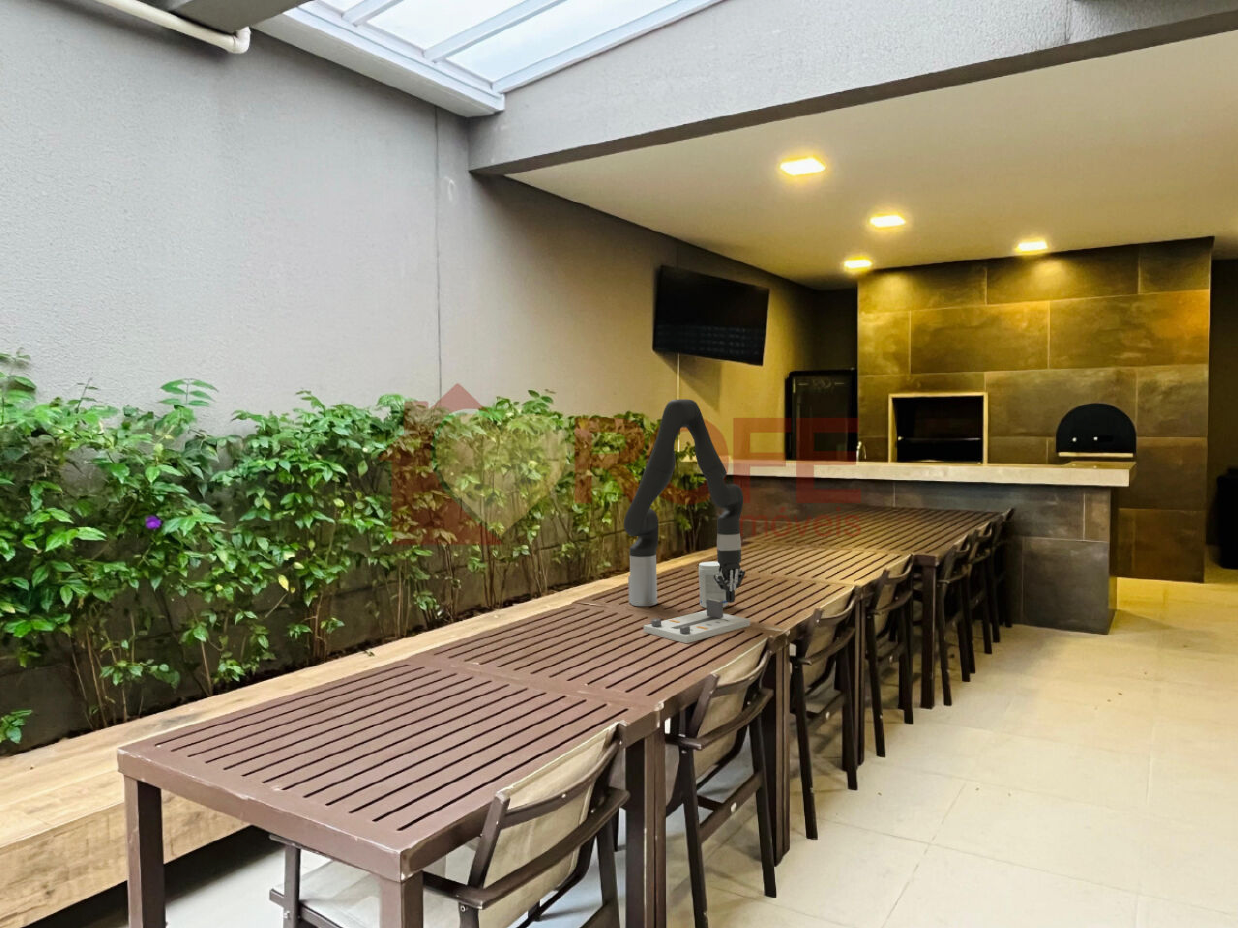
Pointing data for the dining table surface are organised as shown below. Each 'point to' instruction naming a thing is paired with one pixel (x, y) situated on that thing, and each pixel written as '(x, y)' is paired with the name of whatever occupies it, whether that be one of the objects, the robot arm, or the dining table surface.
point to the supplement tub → (710, 584)
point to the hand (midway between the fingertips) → (730, 602)
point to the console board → (695, 626)
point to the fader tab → (715, 608)
